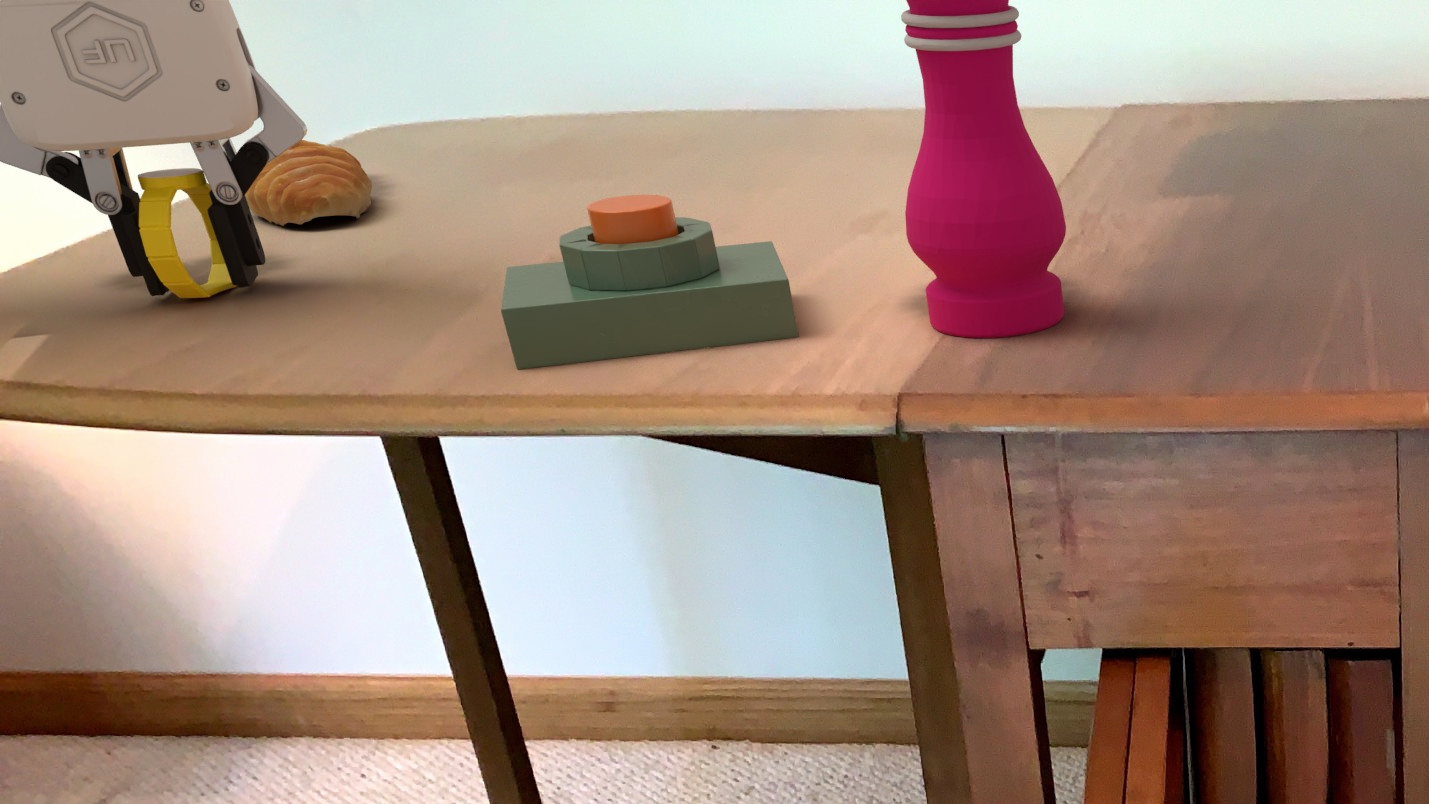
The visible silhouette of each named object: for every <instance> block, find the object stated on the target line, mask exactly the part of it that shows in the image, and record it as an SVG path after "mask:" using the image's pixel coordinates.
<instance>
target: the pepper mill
mask: <svg viewBox="0 0 1429 804" xmlns="http://www.w3.org/2000/svg"><path fill="white" fill-rule="evenodd" d="M905 1H906V4H907V6H908V8H909V9H906V10H904V11H903V12H902V13H901V14H900V20H901V22H902V23H903V24H904V25H905V28H904V31H905V33H906V34H905V36H904V38H903V41H904V44H905V45H906V46H907V47H909V48H910V49H914V50H915V53H916V58H917V62H918V66H919V70H920V74H921V78H922V86H923V100H924V120H923V133H922V137H921V141H920V145H919V150H918V153H917V157H916V160H915V162H914V165H913V168H912V172H911V176H910V179H909V183H908V188H907V195H906V203H905V213H904V215H905V216H904V217H905V232H906V233H905V235H906V239H907V242H908V245H909V247H910V248H911V250H912V252H913V253H914V255H916V257H917V258H918V259H919V260H920V261H921V262H922V263H923V264H924V265H925V266H926V267H927V268H928V269H929V270H930V271H931V272H933V274H934V275H935V279H933V280H931V281H930V282H929V283H928V284H927V286H925V297H926V303H927V309H928V310H927V311H928V316H929V317H928V318H929V324H930V325H931V326H932V328H934V329H935V330H936V331H938V332H940V333H942V334H943V335H949V336H953V337H960V338H968V339H995V338H996V339H997V338H1009V337H1015V336H1023V335H1028V334H1033V333H1036V332H1041V331H1043V330H1046V329H1048V328H1049V329H1050V328H1051V327H1054V326H1055V325H1057V324H1059V322H1060V321H1062V319H1063V318H1064V315H1065V307H1064V306H1065V304H1064V295H1063V288H1062V287H1063V286H1062V280H1061V279H1060V277H1059V276H1057V274H1055V273H1054V272H1052V271H1049V270H1048V268H1049V266H1050V264H1051V263H1052V261H1053V260H1054V258H1055V257H1056V255H1057V254H1058V253H1059V251H1060V249H1061V248H1062V245H1063V243H1064V240H1065V238H1066V235H1067V224H1066V219H1065V214H1064V207H1063V204H1062V199H1061V196H1060V195H1059V192H1058V189H1057V187H1056V183H1055V181H1054V179H1053V176H1052V175H1051V174H1050V172H1049V170H1048V168H1047V166H1046V165H1045V163H1044V161H1043V159H1042V157H1041V156H1040V154H1039V152H1038V151H1037V148H1036V146H1035V145H1034V143H1033V141H1032V139H1031V137H1030V135H1029V133H1028V130H1027V128H1026V126H1025V123H1024V119H1023V116H1022V113H1021V110H1020V107H1019V104H1018V98H1017V93H1016V86H1015V79H1014V45H1016V44H1017V43H1019V42H1020V41H1021V40H1022V33H1021V31H1020V30H1018V27H1019V25H1018V22H1017V19H1018V18H1019V17H1020V12H1019V10H1018V8H1017V7H1015V6H1012V5H1009V3H1010V2H1009V1H1010V0H905Z"/></svg>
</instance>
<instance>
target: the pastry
mask: <svg viewBox="0 0 1429 804" xmlns="http://www.w3.org/2000/svg"><path fill="white" fill-rule="evenodd" d="M372 190H373V182H372V180H371V178H370V177H369V176H368V174H367V173H366V171H365V170H364V168H362V164H361V162H360V161H359V160H358V159H357V158H356V157H355V156H354V155H352V153H350V152H348V151H346V150H345V149H344V148H342V147H337V146H336V147H335V146H331V145H326V144H323V143H319V142H316V141H309V140H305V139H302V140H301V141H300V142H298V143H297V144H295V145H294V146H292V147H291V148H289V149H288V150H287V151H285V152H284V153H282V154H281V155H279V156H278V157H276V158H275V159H273V160H272V161H270V162H269V163H267V164H266V166H265V167H264V168H263V170H262V171H261V173H260V174H259V176H258V177H257V178H256V180H255V181H254V183H253V184H252V186H251V187H250V188H249V190H248V191H247V193H246V194H245V197H246V200H247V203H248V206H249V209H250V211H252V213H253V214H254V215H256V216H258V217H260V218H262V219H263V218H264V219H265V220H266V221H268V222H269V223H270V224H272V223H274V224H275V225H280V226H282V227H284V226H285V225H286V224H287V223H292V224H297V225H303V224H304V223H306V222H310V221H312V220H313V219H315V218H319V217H330V216H331V217H332V216H351V217H355V218H356V219H361V214H362V213H367V212H368V210H369V208H370V207H371V206H372V201H371V193H372Z"/></svg>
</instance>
